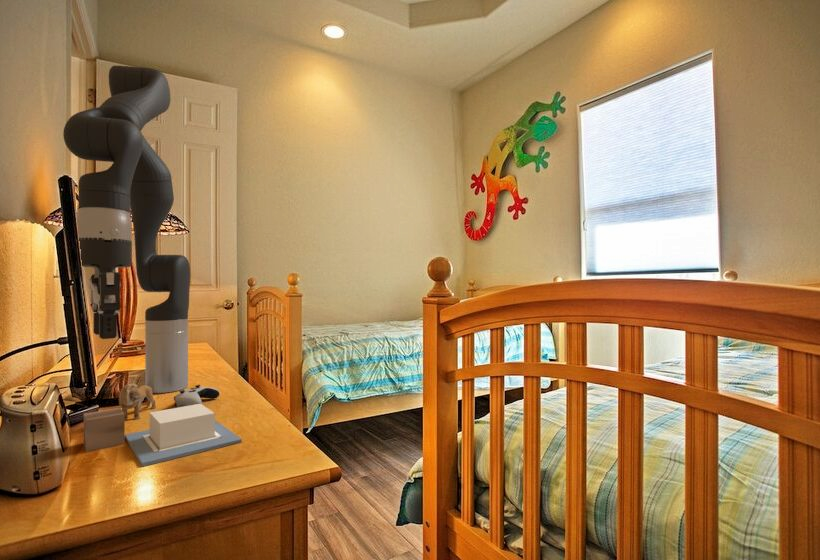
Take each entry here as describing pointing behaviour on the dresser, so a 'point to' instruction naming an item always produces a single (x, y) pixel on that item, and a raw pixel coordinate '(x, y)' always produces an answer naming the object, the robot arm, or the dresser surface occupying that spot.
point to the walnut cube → (104, 429)
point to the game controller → (195, 396)
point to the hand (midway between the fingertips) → (104, 336)
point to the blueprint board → (152, 454)
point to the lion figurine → (135, 398)
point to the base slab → (181, 425)
